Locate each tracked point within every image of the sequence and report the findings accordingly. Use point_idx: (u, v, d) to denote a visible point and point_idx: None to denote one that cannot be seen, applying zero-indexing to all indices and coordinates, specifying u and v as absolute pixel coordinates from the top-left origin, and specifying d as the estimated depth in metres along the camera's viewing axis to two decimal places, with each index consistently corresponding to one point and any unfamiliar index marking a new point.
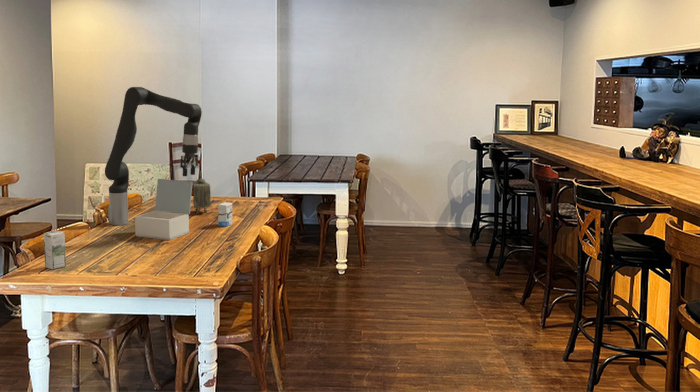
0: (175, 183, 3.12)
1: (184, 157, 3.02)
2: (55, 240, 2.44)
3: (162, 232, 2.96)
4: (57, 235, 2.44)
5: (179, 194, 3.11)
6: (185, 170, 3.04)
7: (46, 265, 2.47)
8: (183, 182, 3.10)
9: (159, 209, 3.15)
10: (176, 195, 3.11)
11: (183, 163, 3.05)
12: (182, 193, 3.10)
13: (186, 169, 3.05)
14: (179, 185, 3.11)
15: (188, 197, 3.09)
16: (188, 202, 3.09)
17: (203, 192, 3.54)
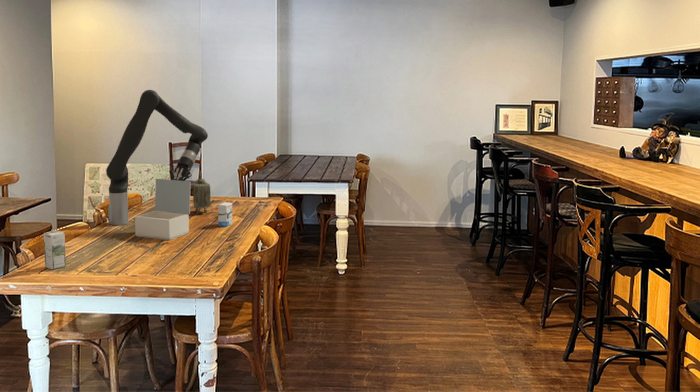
0: (174, 183, 3.10)
1: (190, 175, 3.15)
2: (55, 240, 2.44)
3: (162, 232, 2.96)
4: (57, 235, 2.44)
5: (178, 194, 3.10)
6: None
7: (46, 265, 2.47)
8: (181, 182, 3.09)
9: (159, 209, 3.15)
10: (175, 195, 3.10)
11: (180, 176, 3.14)
12: (181, 193, 3.09)
13: None
14: (177, 185, 3.10)
15: (187, 197, 3.08)
16: (187, 202, 3.08)
17: (203, 192, 3.54)
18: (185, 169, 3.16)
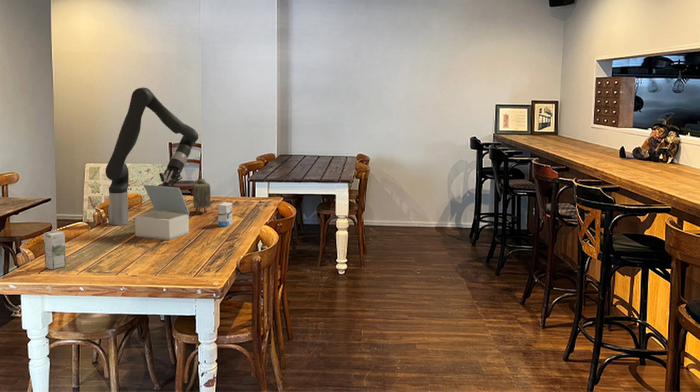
0: (163, 189, 3.03)
1: (180, 178, 3.07)
2: (55, 240, 2.44)
3: (162, 232, 2.96)
4: (57, 235, 2.44)
5: (171, 198, 3.05)
6: None
7: (46, 265, 2.47)
8: (170, 189, 3.01)
9: (158, 209, 3.14)
10: (169, 199, 3.06)
11: (170, 178, 3.06)
12: (174, 197, 3.04)
13: (168, 185, 3.06)
14: (168, 191, 3.02)
15: (181, 200, 3.04)
16: (183, 205, 3.05)
17: (203, 192, 3.54)
18: (175, 171, 3.08)
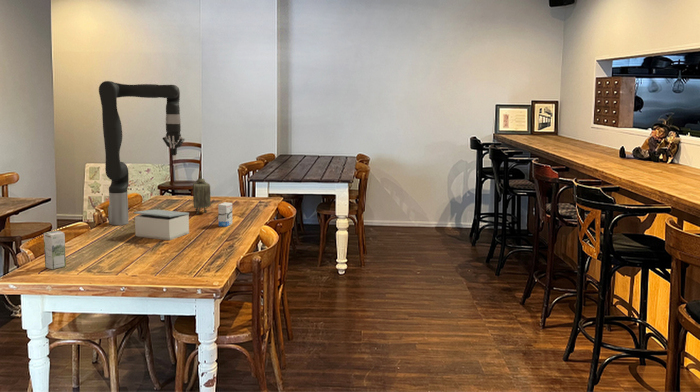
0: None
1: (183, 140, 3.25)
2: (55, 240, 2.44)
3: (162, 232, 2.96)
4: (57, 235, 2.44)
5: (166, 214, 3.02)
6: (176, 149, 3.27)
7: (46, 265, 2.47)
8: (161, 215, 2.96)
9: None
10: None
11: (174, 144, 3.25)
12: None
13: None
14: None
15: None
16: (180, 214, 3.03)
17: (203, 192, 3.54)
18: (176, 135, 3.24)
